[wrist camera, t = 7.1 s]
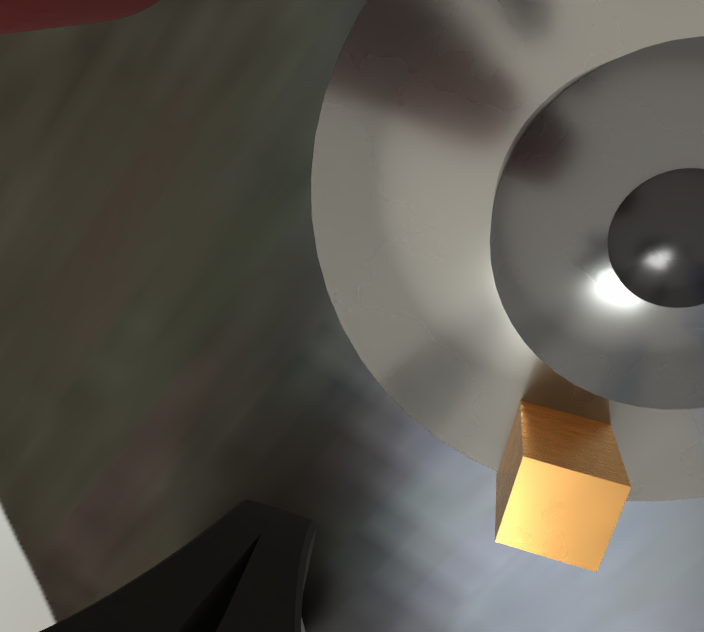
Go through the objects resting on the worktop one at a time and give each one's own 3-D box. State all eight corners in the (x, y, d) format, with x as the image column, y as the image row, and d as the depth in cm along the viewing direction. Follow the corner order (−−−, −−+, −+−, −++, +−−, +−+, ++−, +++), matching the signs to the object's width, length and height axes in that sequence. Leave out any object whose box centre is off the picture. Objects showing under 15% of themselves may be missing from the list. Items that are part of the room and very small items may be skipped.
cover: (873, 88, 14) (993, 83, 10) (737, 381, 16) (799, 455, 13) (541, 21, 15) (552, -3, 11) (461, 308, 17) (450, 358, 14)
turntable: (1186, -113, 13) (1491, -209, 9) (824, 546, 18) (911, 667, 14) (388, -223, 15) (347, -338, 11) (282, 392, 20) (230, 460, 17)
